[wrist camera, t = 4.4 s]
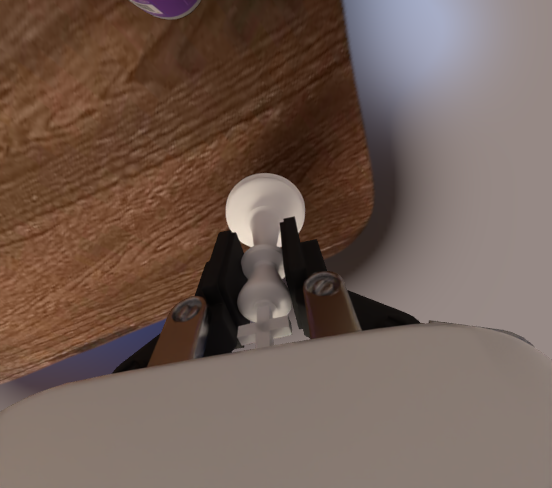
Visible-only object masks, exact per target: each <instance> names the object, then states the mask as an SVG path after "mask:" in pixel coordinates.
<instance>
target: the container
mask: <svg viewBox="0 0 552 488" xmlns="http://www.w3.org/2000/svg"><path fill="white" fill-rule="evenodd" d="M129 1H130V2H132V3H133V4H135V5H136V6H138V7H139V8H141V9H142V10H144V11H145V12H147V13H149V14H151V15H153V16H155V17H158V18H162V19H178V18H181V17H184V16H186V15H188V14H189V13H191V12H192V11H193V10H194V9H195V8H196V7H197V6H198V4H199V3H200V1H201V0H129Z"/></svg>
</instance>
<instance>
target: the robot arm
mask: <svg viewBox="0 0 552 488" xmlns="http://www.w3.org/2000/svg"><path fill="white" fill-rule="evenodd" d="M283 220H284V222H280V233H281V244H282V255H283V266H284V273H285V277H286V281H287V285H288V289H289V293H290V297H291V301H292V304H293V308H294V312H295V315H296V319H297V323H298V327H299V329H303V331H304V335H305V336H307V337H309V338H310V340H304V341H299V342H292V343H286V344H280V345H274V346H268V347H262V348H256V349H250V350H244V351H239V352H233V353H232V351H233V350H234V349H237V348H243V347H244V345H243V346H242V345H241V343H240V342H239V340H238V338H237V334H238V326H242V325H246V324H250V320H248V319H247V318H245V317H244V316H243V315H242V314H241V313H240V311H239V309H238V306H237V299H238V295H239V293H240V291H241V289H242V288H243V286H244V285H245V284H246V283H247V281H248V279H247V278H246V276H245V275H244V273H243V270H242V266H241V260H242V257H243V255H244V253H243V250H242V247H241V244H240V241H239V238H238V236H237V233H236V232H234V233H233V232H232V231H231V230H229V231H224V232H220V233H219V234H218V237H217V240H216V243H215V246H214V249H213V252H212V256H211V259H210V261H209V262H207V263H206V264H205V267H204V270H203V273H202V276H201V279H200V282H199V285H198V288H197V291H196V294H195V296H192V297H188V298H186V299H184V300H182V301H180V302H179V303H177V304H176V305H175V306H174V307H173V308H172V309H171V311H170V313H169V315H168V317H167V319H166V322H165V324H164V327H163V329H162V332H161V333H160V334H159V335H158V336H157V337H155V338H154V339H152V340H151V341H150V342H149V343H147V344H146V345H145V346H143V347H142V348H141V349H140V350H138V351H137V352H136V353H134V354H133V355H132V356H130V357H129V358H128V359H127V360H125V361H124V362H123V363H121V364H120V365H119V366H118V367H117V368H116V369H115V370H114V372H113V373H112V374H109V375H104V376H99V377H94V378H90V379H85V380H81V381H76V382H72V383H67V384H63V385H60V386H57V387H53V388H50V389H47V390H45V391H42V392H39V393H37V394H34V395H32V396H30V397H27V398H25V399H23V400H21V401H19V402H17V403H15V404H13V405H11V406H9V407H8V408H6V409H4V410H2V411H1V412H0V488H552V360H551V359H550V358H549V357H547V356H546V355H545V354H543V353H542V352H540V351H539V350H537V349H536V348H535V347H534V346H533V345H532V344H531V343H530V342H528V341H527V340H526V339H524V338H523V337H521V336H519V335H517V334H514V333H512V332H508V331H504V330H499V329H491V328H484V327H476V326H468V325H461V324H453V323H445V322H438V321H429V323H427V324H425V323H420V322H419V321H418V320H417V319H415V318H414V317H413V316H411V315H409V314H407V313H405V312H402V311H400V310H397V309H395V308H392V307H389V306H387V305H384V304H382V303H379V302H376V301H374V300H371V299H369V298H366V297H363V296H361V295H359V294H356V293H353V292H351V291H348V290H347V289H346V287H345V284H344V281H343V279H342V277H341V276H339V275H338V274H336V273H333V272H330V271H327V269H326V266H325V263H324V260H323V257H322V254H321V251H320V248H319V244H318V241H317V239H315V240H310V241H306V242H301V243H300V239H299V234H298V229H297V225H296V220H295V216H293V217H289V218H284V219H283Z"/></svg>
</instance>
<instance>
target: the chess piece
mask: <svg viewBox="0 0 552 488" xmlns="http://www.w3.org/2000/svg"><path fill="white" fill-rule="evenodd" d="M293 216H295V220H296V225H297V229H298V233H299V232H300V230H301V228H302V226H303V223H304V218H305V204H304V200H303V197H302V195H301V193H300V191H299V190H298V189H297V187H296V186H295V185H294V184H293V183H292V182H290V181H289V180H287V179H286V178H284V177H282V176H279V175H276V174H270V173H260V174H254V175H251V176H249V177H246V178H245V179H243V180H241V181H240V182H239V183H238V184H236V185H235V187H234V188H233V189H232V190H231V192H230V194H229V196H228V199H227V202H226V219H227V223H228V226H229V228H230V230H231V231H232V232H233V233H234V232H236V233H237V236H238V238H239V241H241V242H242V243H244V244H245V245H247V246H250V247H251V248H249V249H248V250H247V251H246V252H245V253H244V255H243V257H242V260H241V266H242V270H243V273H244V275H245V276H246V278H247V279H248V281H247V283H246V284H245V285H244V286H243V288H242V289H241V291H240V293H239V295H238V299H237V306H238V309H239V311H240V313H241V314H242V315H243V316H244V317H245V318H247V319H248V320H250V321H253V322H255V323H251V324H246V325H242V326H238V334H237V338H238V340H239V342H240V343H241V345H242V346H243V345H247V344H252V343H256V347H255V349H256V348H262V347H268V346H273V339H275V338H280V337H284V336H289V335H292V327H291V322H290V320H289V317H288V315H287V314H288V313H289V312H290V310H291V308H292V301H291V297H290V293H289V289H288V288H287V286H286V285H285V283H283V281H282V279H283V278H284V277H285V273H284V266H283V255H282V249H281V248H279V247H281V246H282V244H281V233H280V222H284V220H283V219H284V218H289V217H293Z"/></svg>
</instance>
